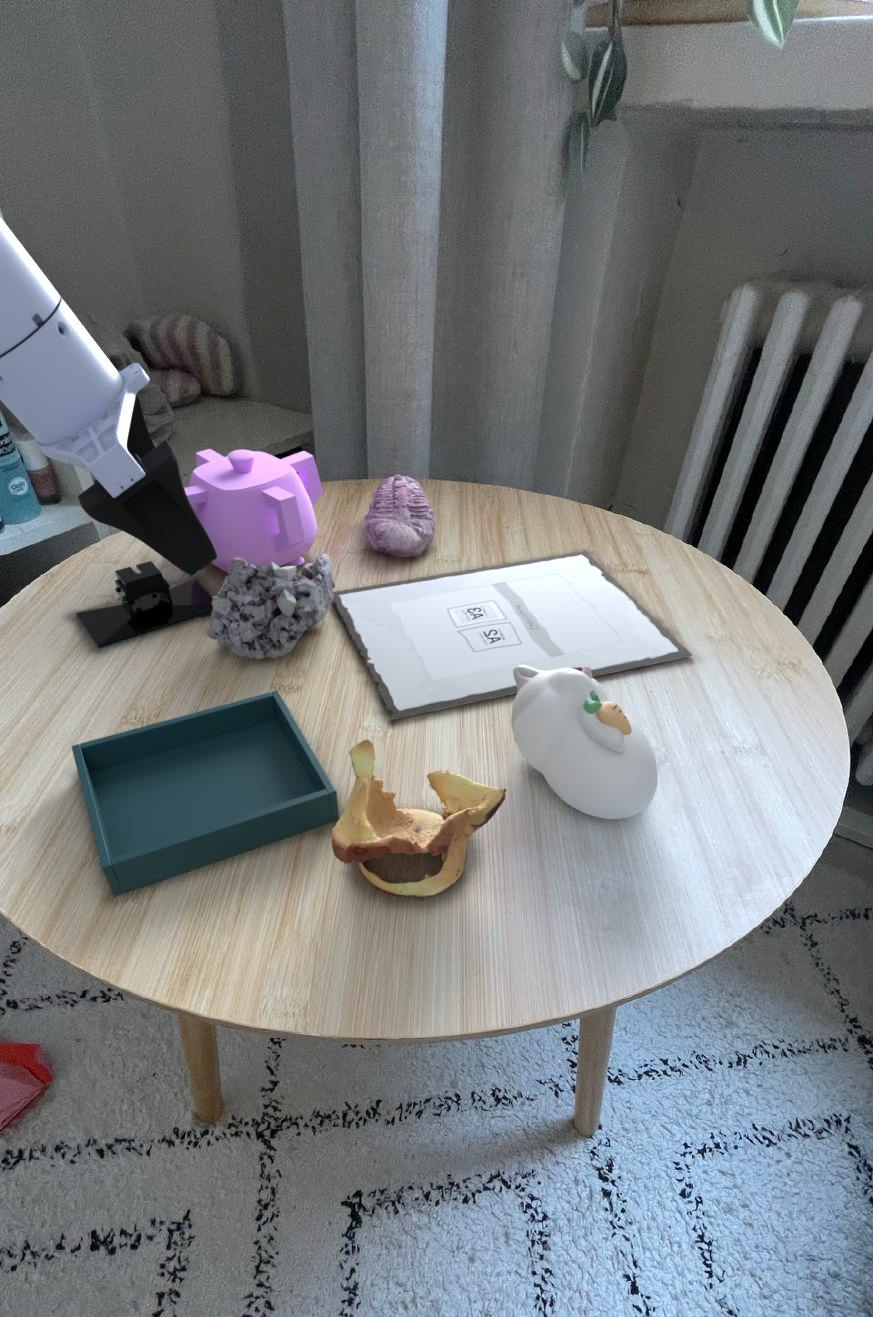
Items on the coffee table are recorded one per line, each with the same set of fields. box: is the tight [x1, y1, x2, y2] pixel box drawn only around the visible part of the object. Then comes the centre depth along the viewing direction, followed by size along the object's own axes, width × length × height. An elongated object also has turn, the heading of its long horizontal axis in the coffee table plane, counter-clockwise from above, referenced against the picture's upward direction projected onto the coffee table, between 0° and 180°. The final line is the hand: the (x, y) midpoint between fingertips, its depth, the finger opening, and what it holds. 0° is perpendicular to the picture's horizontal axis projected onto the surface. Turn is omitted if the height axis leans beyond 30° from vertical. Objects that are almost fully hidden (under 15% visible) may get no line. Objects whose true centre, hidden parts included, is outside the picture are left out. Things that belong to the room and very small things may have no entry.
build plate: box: [75, 560, 213, 650], centre depth 75 cm, size 12×7×5 cm, turn 126°
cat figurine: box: [510, 665, 659, 820], centre depth 58 cm, size 10×8×15 cm
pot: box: [184, 448, 324, 573], centre depth 81 cm, size 18×17×12 cm
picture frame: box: [332, 550, 694, 720], centre depth 76 cm, size 22×1×30 cm
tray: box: [71, 689, 340, 897], centre depth 57 cm, size 16×13×3 cm
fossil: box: [363, 473, 436, 558], centre depth 88 cm, size 8×14×5 cm, turn 4°
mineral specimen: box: [203, 552, 336, 661], centre depth 72 cm, size 12×9×10 cm
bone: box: [331, 738, 507, 902], centre depth 52 cm, size 12×10×8 cm
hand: (187, 537), depth 48 cm, fingers open, 7 cm apart
